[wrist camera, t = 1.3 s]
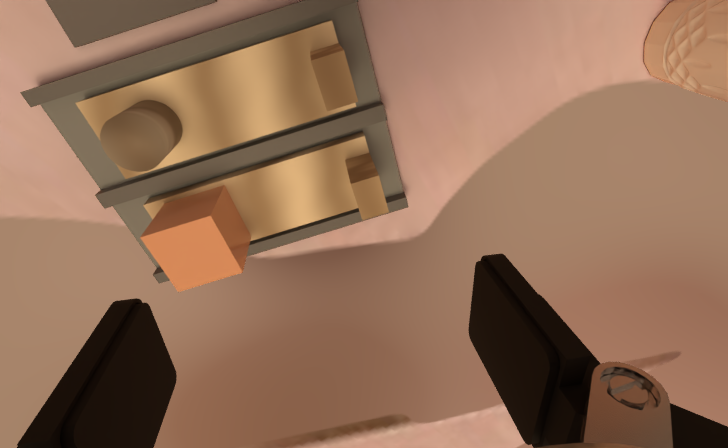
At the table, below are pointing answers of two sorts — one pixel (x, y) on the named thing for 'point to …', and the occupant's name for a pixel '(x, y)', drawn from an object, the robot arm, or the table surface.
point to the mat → (114, 15)
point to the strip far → (297, 187)
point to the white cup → (691, 46)
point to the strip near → (241, 93)
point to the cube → (198, 239)
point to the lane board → (132, 193)
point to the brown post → (141, 135)
